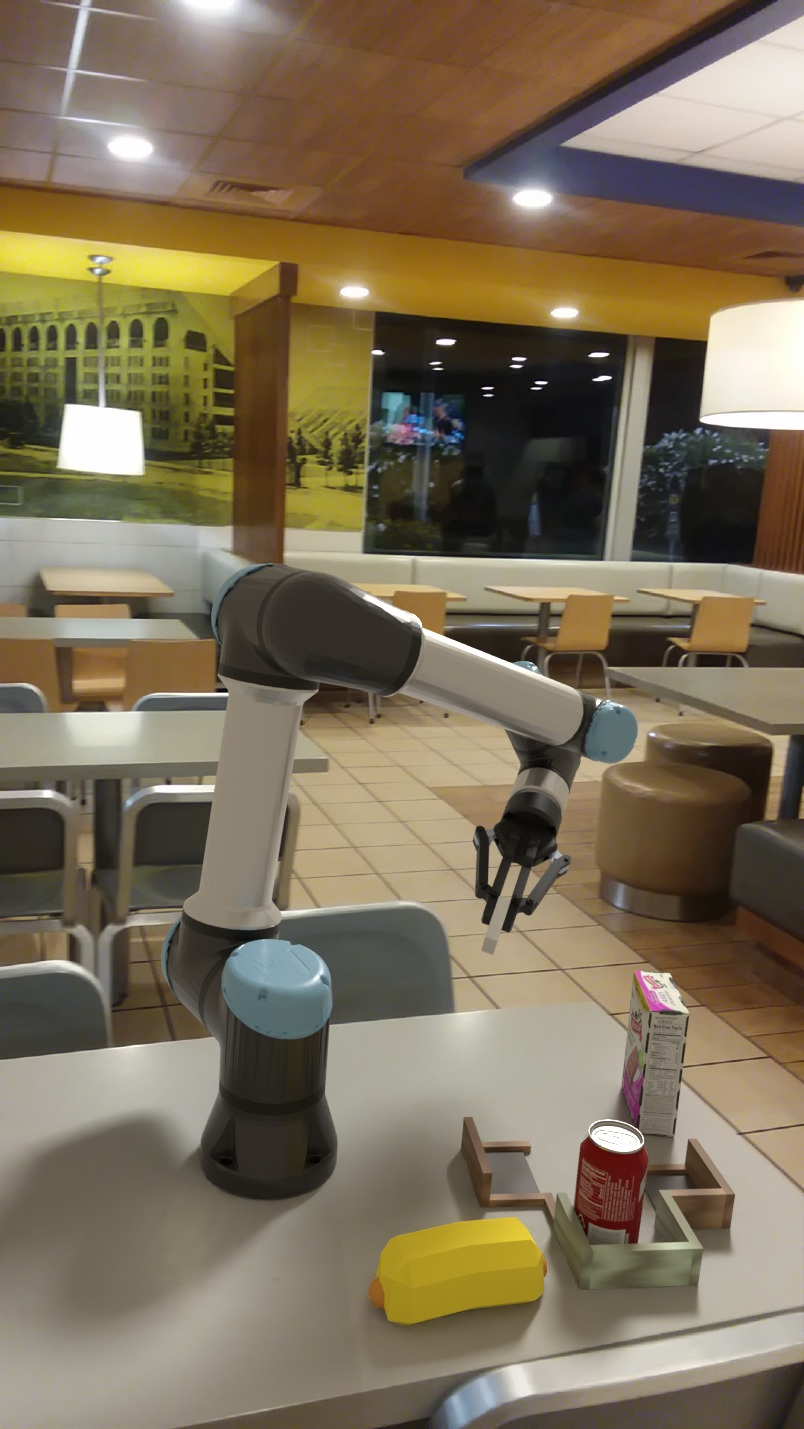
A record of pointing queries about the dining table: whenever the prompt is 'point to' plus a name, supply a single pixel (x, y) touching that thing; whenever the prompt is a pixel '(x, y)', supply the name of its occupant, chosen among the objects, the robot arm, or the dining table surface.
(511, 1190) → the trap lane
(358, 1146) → the dining table surface
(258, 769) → the robot arm
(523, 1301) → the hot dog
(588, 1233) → the soda can
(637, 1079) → the candy bar box
